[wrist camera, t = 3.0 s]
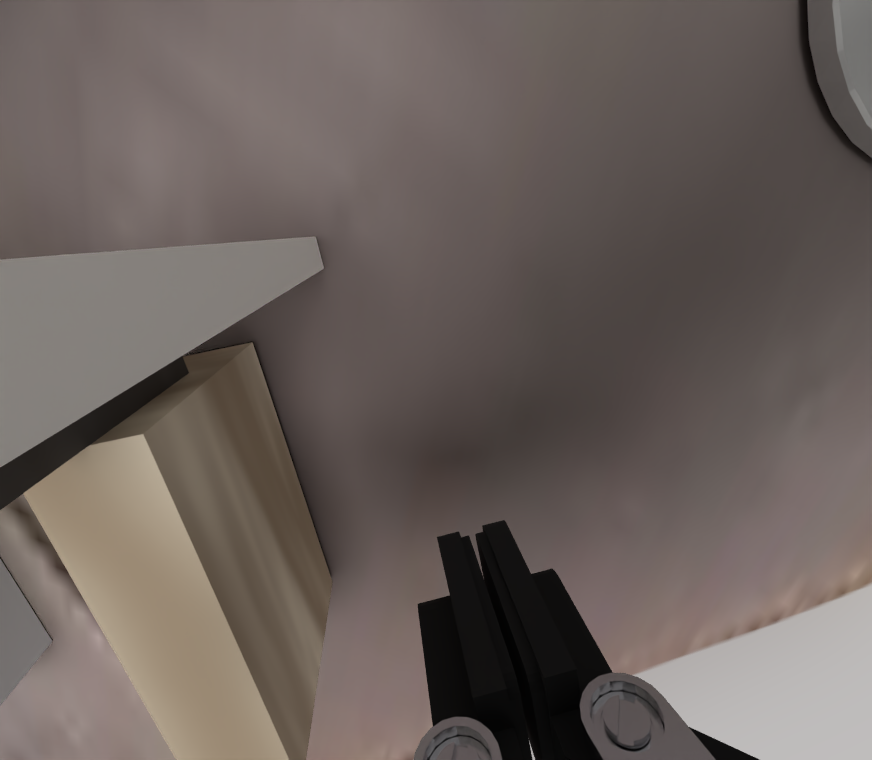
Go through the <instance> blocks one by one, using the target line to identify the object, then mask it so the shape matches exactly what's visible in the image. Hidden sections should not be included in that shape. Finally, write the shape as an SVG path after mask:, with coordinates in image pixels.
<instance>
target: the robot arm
mask: <svg viewBox="0 0 872 760" xmlns="http://www.w3.org/2000/svg"><path fill="white" fill-rule="evenodd" d="M807 5H808V29H809V44H810V48H811V53H812V58H813V62H814V67H815V72H816V76H817V81H818V84H819V86H820V88H821V91H822V93H823V95H824V98H825V100H826V102H827V105H828V107H829V109H830V112H831V114H832V116H833V117H834V119H835V120H836V121H837V123H838V124H839V125H840V127H841V128H842V129H843V131H844V132H845V134H846V135H847V136H848V138H849V139H850V140H851V142H852V143H854V144H855V145H856V146H857V147H859V148H860V149H861V150H862V151H864V152H865V153H866V154H867V155H868V156H870V157H871V158H872V0H807ZM482 527H483V532H481V533H477V534H476V540H477V546H478V551H479V556H480V561H481V566H482V571H483V576H482V573H481V570H480V567H479V564H478V561H477V558H476V555H475V552H474V549H473V546H472V543H471V540H470V537H469V536H465V537H460V534H459V532H455V533H451V534H447V535H443V536H439V537H437V539H438V543H439V548H440V552H441V557H442V561H443V566H444V570H445V575H446V579H447V584H448V588H449V592H450V596H446V597H442V598H438V599H435V600H431V601H427V602H423V603H419V604H418V613H419V620H420V628H421V636H422V644H423V652H424V659H425V667H426V675H427V683H428V691H429V698H430V706H431V714H432V722H433V727H432V728H431V729H430V730H429V731H428V732H427V733H426V734H425V736H424V737H423V738H422V739H421V741H420V743H419V746H418V748H417V750H416V752H415V755H414V760H532V755H531V750H530V744H531V747H532V750H533V753H534V757H535V760H759V759H757V758H755V757H753V756H750V755H748V754H746V753H744V752H742V751H740V750H738V749H735V748H733V747H731V746H729V745H727V744H724V743H722V742H720V741H718V740H716V739H714V738H712V737H709V736H707V735H705V734H703V733H701V732H699V731H696V730H694V729H692V728H690V727H688V726H687V725H686V723H685V722H684V721H683V720H682V718H681V717H680V716H679V715H678V714H677V712H676V711H675V710H674V709H673V708H672V706H671V705H670V704H669V703H668V702H667V700H666V699H665V698H664V697H663V696H662V695H661V694H660V693H659V692H658V691H657V690H656V689H655V688H654V687H653V686H652V685H650V684H649V683H647V682H645V681H644V680H642V679H640V678H638V677H635V676H632V675H629V674H625V673H613V672H612V671H611V669H610V667H609V665H608V664H607V662H606V660H605V658H604V656H603V655H602V653H601V651H600V649H599V648H598V646H597V644H596V642H595V640H594V639H593V637H592V635H591V633H590V632H589V630H588V628H587V626H586V625H585V623H584V621H583V619H582V617H581V616H580V614H579V612H578V610H577V609H576V607H575V605H574V603H573V601H572V600H571V598H570V596H569V594H568V593H567V591H566V589H565V587H564V586H563V584H562V582H561V580H560V578H559V577H558V575H557V574H556V572H555V571H554V570H553V569H549V570H545V571H541V572H538V573H534V574H531V573H530V571H529V569H528V567H527V565H526V563H525V561H524V559H523V556H522V554H521V552H520V550H519V548H518V546H517V544H516V542H515V540H514V538H513V536H512V534H511V532H510V530H509V528H508V526H507V523H506V522H505V521H504V520H503V521H499V522H495V523H491V524H487V525H483V526H482ZM483 577H484V579H483ZM528 738H529V739H528ZM529 741H530V744H529Z"/></svg>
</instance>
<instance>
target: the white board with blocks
mask: <svg viewBox="0 0 872 760" xmlns="http://www.w3.org/2000/svg"><path fill="white" fill-rule="evenodd" d="M323 269H324V266H323V262H322V259H321V255H320V251H319V247H318V243H317V240H316V236H314V237H301V238H287V239H273V240H260V241H246V242H232V243H219V244H205V245H191V246H178V247H164V248H150V249H137V250H123V251H109V252H96V253H82V254H68V255H55V256H41V257H27V258H14V259H0V467H2V466H3V465H5V464H7V463H8V462H10V461H12V460H13V459H15V458H17V457H18V456H20V455H21V454H23V453H25V452H26V451H28V450H30V449H31V448H33V447H34V446H36V445H38V444H39V443H41V442H43V441H44V440H46V439H47V438H49V437H51V436H52V435H54V434H56V433H57V432H59V431H60V430H62V429H64V428H65V427H67V426H69V425H70V424H72V423H73V422H75V421H77V420H78V419H80V418H82V417H83V416H85V415H87V414H88V413H90V412H91V411H93V410H95V409H96V408H98V407H100V406H101V405H103V404H104V403H106V402H108V401H109V400H111V399H113V398H114V397H116V396H117V395H119V394H121V393H122V392H124V391H126V390H127V389H129V388H130V387H132V386H134V385H135V384H137V383H139V382H140V381H142V380H144V379H145V378H147V377H148V376H150V375H152V374H153V373H155V372H157V371H158V370H160V369H161V368H163V367H165V366H166V365H168V364H170V363H171V362H173V361H174V360H176V359H178V358H179V357H181V356H183V355H184V354H186V353H187V352H189V351H191V350H192V349H194V348H196V347H197V346H199V345H200V344H202V343H204V342H205V341H207V340H209V339H210V338H212V337H214V336H215V335H217V334H218V333H220V332H222V331H223V330H225V329H227V328H228V327H230V326H231V325H233V324H235V323H236V322H238V321H240V320H241V319H243V318H244V317H246V316H248V315H249V314H251V313H253V312H254V311H256V310H257V309H259V308H261V307H262V306H264V305H266V304H267V303H269V302H270V301H272V300H274V299H275V298H277V297H279V296H280V295H282V294H284V293H285V292H287V291H288V290H290V289H292V288H293V287H295V286H297V285H298V284H300V283H301V282H303V281H305V280H306V279H308V278H310V277H311V276H313V275H314V274H316V273H318V272H319V271H321V270H323ZM51 643H52V640H51V638H50V637H49V635H48V634H47V632H46V630H45V629H44V627H43V626H42V624H41V622H40V621H39V619H38V618H37V616H36V614H35V613H34V611H33V610H32V608H31V607H30V605H29V603H28V602H27V600H26V599H25V597H24V595H23V594H22V592H21V591H20V589H19V588H18V586H17V584H16V583H15V581H14V580H13V578H12V576H11V575H10V573H9V572H8V570H7V568H6V567H5V565H4V564H3V562H2V561H1V559H0V705H1V704H2V703H3V702H4V701H5V699H6V698H7V697H8V696H9V694H10V693H11V692H12V691H13V689H14V688H15V687H16V686H17V685H18V683H19V682H20V681H21V680H22V678H23V677H24V676H25V675H26V673H27V672H28V671H29V670H30V668H31V667H32V666H33V665H34V664H35V662H36V661H37V660H38V659H39V657H40V656H41V655H42V654H43V652H44V651H45V650H46V649H47V647H48V646H49V645H50V644H51Z"/></svg>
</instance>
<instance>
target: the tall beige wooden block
mask: <svg viewBox="0 0 872 760" xmlns="http://www.w3.org/2000/svg"><path fill="white" fill-rule="evenodd" d="M22 494H24V496H25V498H26V499H27V501H28V503H29V505H30V506H31V508H32V510H33V512H34V513H35V515H36V517H37V518H38V520H39V522H40V524H41V525H42V527H43V529H44V531H45V532H46V534H47V536H48V538H49V539H50V541H51V543H52V545H53V546H54V548H55V550H56V552H57V553H58V555H59V557H60V558H61V560H62V562H63V564H64V565H65V567H66V569H67V571H68V572H69V574H70V576H71V578H72V579H73V581H74V583H75V585H76V586H77V588H78V590H79V592H80V593H81V595H82V597H83V598H84V600H85V602H86V604H87V605H88V607H89V609H90V611H91V612H92V614H93V616H94V618H95V619H96V621H97V623H98V625H99V626H100V628H101V630H102V632H103V633H104V635H105V637H106V638H107V640H108V642H109V644H110V645H111V647H112V649H113V651H114V652H115V654H116V656H117V658H118V659H119V661H120V663H121V665H122V666H123V668H124V670H125V672H126V673H127V675H128V677H129V678H130V680H131V682H132V684H133V685H134V687H135V689H136V691H137V692H138V694H139V696H140V698H141V699H142V701H143V703H144V705H145V706H146V708H147V710H148V712H149V713H150V715H151V717H152V718H153V720H154V722H155V724H156V725H157V727H158V729H159V731H160V732H161V734H162V736H163V738H164V739H165V741H166V743H167V745H168V746H169V748H170V750H171V752H172V753H173V755H174V757H175V758H176V760H306V756H307V749H308V743H309V736H310V729H311V723H312V716H313V709H314V702H315V696H316V689H317V682H318V676H319V669H320V662H321V655H322V649H323V642H324V635H325V629H326V622H327V615H328V608H329V602H330V595H331V588H332V579H331V576H330V573H329V570H328V567H327V564H326V561H325V558H324V555H323V552H322V549H321V546H320V543H319V540H318V537H317V534H316V531H315V528H314V525H313V522H312V519H311V516H310V513H309V510H308V507H307V504H306V501H305V498H304V495H303V492H302V489H301V486H300V483H299V480H298V477H297V474H296V471H295V468H294V465H293V462H292V459H291V456H290V453H289V450H288V447H287V444H286V441H285V438H284V435H283V432H282V429H281V426H280V423H279V420H278V417H277V414H276V411H275V408H274V405H273V402H272V399H271V396H270V393H269V390H268V387H267V384H266V381H265V378H264V375H263V372H262V369H261V366H260V363H259V360H258V357H257V354H256V351H255V348H254V345H253V342H251V343H246V344H242V345H237V346H232V347H227V348H222V349H217V350H213V351H208V352H203V353H198V354H193V355H188V356H181V357H179V358H178V359H176V360H174V361H173V362H171V363H170V364H168V365H166V366H165V367H163V368H161V369H160V370H158V371H157V372H155V373H153V374H152V375H150V376H148V377H147V378H145V379H144V380H142V381H140V382H139V383H137V384H135V385H134V386H132V387H130V388H129V389H127V390H126V391H124V392H122V393H121V394H119V395H117V396H116V397H114V398H113V399H111V400H109V401H108V402H106V403H104V404H103V405H101V406H100V407H98V408H96V409H95V410H93V411H91V412H90V413H88V414H87V415H85V416H83V417H82V418H80V419H78V420H77V421H75V422H73V423H72V424H70V425H69V426H67V427H65V428H64V429H62V430H60V431H59V432H57V433H56V434H54V435H52V436H51V437H49V438H47V439H46V440H44V441H43V442H41V443H39V444H38V445H36V446H34V447H33V448H31V449H30V450H28V451H26V452H25V453H23V454H21V455H20V456H18V457H17V458H15V459H13V460H12V461H10V462H8V463H7V464H5V465H3V466H2V467H0V510H1V509H2V508H4V507H5V506H6V505H8V504H9V503H11V502H12V501H13V500H15V499H16V498H17V497H19V496H20V495H22Z"/></svg>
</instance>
